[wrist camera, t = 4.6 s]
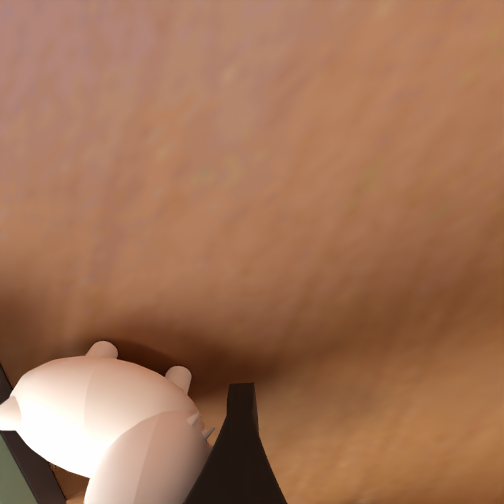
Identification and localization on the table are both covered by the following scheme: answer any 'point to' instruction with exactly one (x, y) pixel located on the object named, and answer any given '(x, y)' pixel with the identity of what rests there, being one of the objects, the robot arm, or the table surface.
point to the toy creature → (112, 426)
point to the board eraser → (23, 467)
